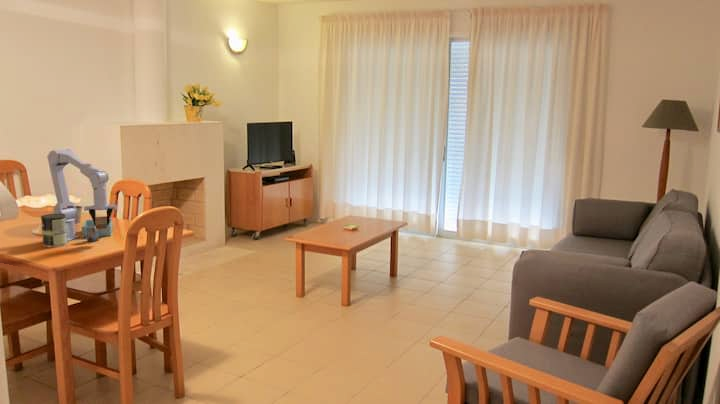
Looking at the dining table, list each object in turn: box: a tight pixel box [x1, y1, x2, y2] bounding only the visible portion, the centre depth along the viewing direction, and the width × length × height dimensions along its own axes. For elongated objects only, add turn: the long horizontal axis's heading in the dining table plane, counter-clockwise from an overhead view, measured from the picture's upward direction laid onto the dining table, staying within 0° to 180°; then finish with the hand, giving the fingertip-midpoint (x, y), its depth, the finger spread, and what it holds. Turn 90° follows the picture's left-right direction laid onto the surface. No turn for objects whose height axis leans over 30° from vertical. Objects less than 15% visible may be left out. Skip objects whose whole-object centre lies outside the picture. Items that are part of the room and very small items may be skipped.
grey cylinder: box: [86, 226, 100, 243], centre depth 284 cm, size 5×5×7 cm
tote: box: [81, 218, 114, 239], centre depth 301 cm, size 17×13×6 cm
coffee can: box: [40, 213, 68, 248], centre depth 275 cm, size 10×10×14 cm
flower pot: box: [74, 205, 84, 224], centre depth 325 cm, size 9×9×9 cm
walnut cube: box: [95, 215, 108, 229], centre depth 278 cm, size 5×5×5 cm
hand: (101, 224), depth 278 cm, fingers closed on walnut cube, 5 cm apart
